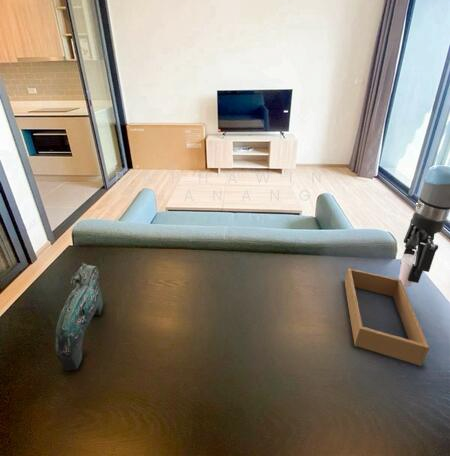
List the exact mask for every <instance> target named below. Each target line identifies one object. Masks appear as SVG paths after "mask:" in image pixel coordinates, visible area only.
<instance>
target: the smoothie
mask: <svg viewBox="0 0 450 456" xmlns="http://www.w3.org/2000/svg"><path fill="white" fill-rule="evenodd" d="M416 255H417V250H415V254H414V255H411V254H404V253H402V254H401V257H400V263H401V264H400V267H399V268H400V269H399V276H398V279H400V280H401V282H402V284H403V287H407V288H411V287H412V286H413V285H414V283H415V282H411V281H408V276H409V274H410V271H411V268H412V264H415V261H416Z"/></svg>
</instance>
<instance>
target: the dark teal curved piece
mask: <svg viewBox="0 0 450 456" xmlns="http://www.w3.org/2000/svg"><path fill="white" fill-rule="evenodd" d="M81 264H82V266H80V267H79V269H78V270H77V271H76V272H75V273H73V275H72V277H71V278H70V284H71V285H73V288H74V289H72V291H71V292H70V294H69V295H68V297H67V298H66V301H65V303H64V305H63V308H62V309H61V311H60V313H59V316H58V320H57V323H56V328H55V334H54V337H55V338H54V351H55V354H56V358H57V360H58V361H59V362H60V363H61V364H62V365H63V367H64V369H65V370H66V371H71V370H78V368H79V366H80V364H81V361H82V359H83V350H82V349H83V339H84V335H85V332H86V329H87V328H88V326H89V325H90V322H91V320H92V319H93V317H95V316H100V315H101V313H102V309H103V307H104V301H103V296H102V291H101V288H100V283H99V278H100V272H99V269H98V267H97V266H96V265H89V264H86V262H82V263H81Z"/></svg>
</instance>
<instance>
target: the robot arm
mask: <svg viewBox="0 0 450 456" xmlns="http://www.w3.org/2000/svg"><path fill="white" fill-rule="evenodd" d="M449 214H450V165H449V166H448V165H442V164H437V165H433V166H431V167H430V168H429V169H428V172H427V174H426V176H425V178H424V181H423V184H422V186H421V191H420V194H419V197H418V200H417V202H416V203H415V210H414V211H413V215H412V218H411V219H410V223H409V227H408V228H407V230H406V234H405V237H404V238H403V243H404V244H405V245H404V247H405V249H404V252H403V254H411V255H414V254H415V251H417V255H416V261H415V264H412V268H411V271H410V274H409V276H408V281H411V282H414V283H415V284H419V282H420V279H421V277H422V276H423V275H422V274H423V272H425V273H429V272H430V270H431V267H432V264H433V261H434V258H435V254H436V252H437V251H438V250H439V245H438V244H436V243H434V240H435V234H438V233H441V232H442V231H443V229H444V226H445V224H446V221H447V219H448V217H449ZM400 265H401V262H400Z"/></svg>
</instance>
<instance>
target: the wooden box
mask: <svg viewBox="0 0 450 456" xmlns="http://www.w3.org/2000/svg"><path fill="white" fill-rule="evenodd" d="M344 287H345V294H346V300H347V306H348V312H349V319H350V325H351V331H352V332H351V333H352V338H353V344H354V346H355V347H359V348H362V349H365V350H368V351H371V352H375V353H377V354H381V355H384V356H387V357H391V358H394V359H398V360H401V361H403V362H407V363H411V364H413V365H417V366H420V367H421V366H422V365H423V363H424V361H425V359H426V356H427V355H428V353H429V351H430V346H429V343H428V342H427V341H428V340H427V339H426V336H425V335H424V332H423V330H422V327H421V324H420V322H419V320H418V318H417V315H416V313H415V311H414V308H413V306H412V304H411V301H410V299H409V297H408V294H407V292H406V289H405V286H404V285H403V284H402V282H401V280H400V279H399V278H394V277H390V276H386V275H382V274H377V273H373V272H368V271H363V270H359V269H355V268H350V267H348V268H347V272H346V276H345V280H344ZM357 288H358V289H360V290H364V291H369V292H373V293H377V294H381V295H385V296H388V297H389V296H390V297H393V300H394V303H395V306H396V308H397V311H398V314H399V317H400V319H401V323H402V326H403V328H404V330H405V334H406V336H407V338H404V337H402V336H397V335H393V334H390V333H386V332H383V331H379V330H376V329H372V328H369V327H365V326H363V322H362V317H361V311H360V306H359V303H358V298H357V297H358V296H357V291H356V289H357Z"/></svg>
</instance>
